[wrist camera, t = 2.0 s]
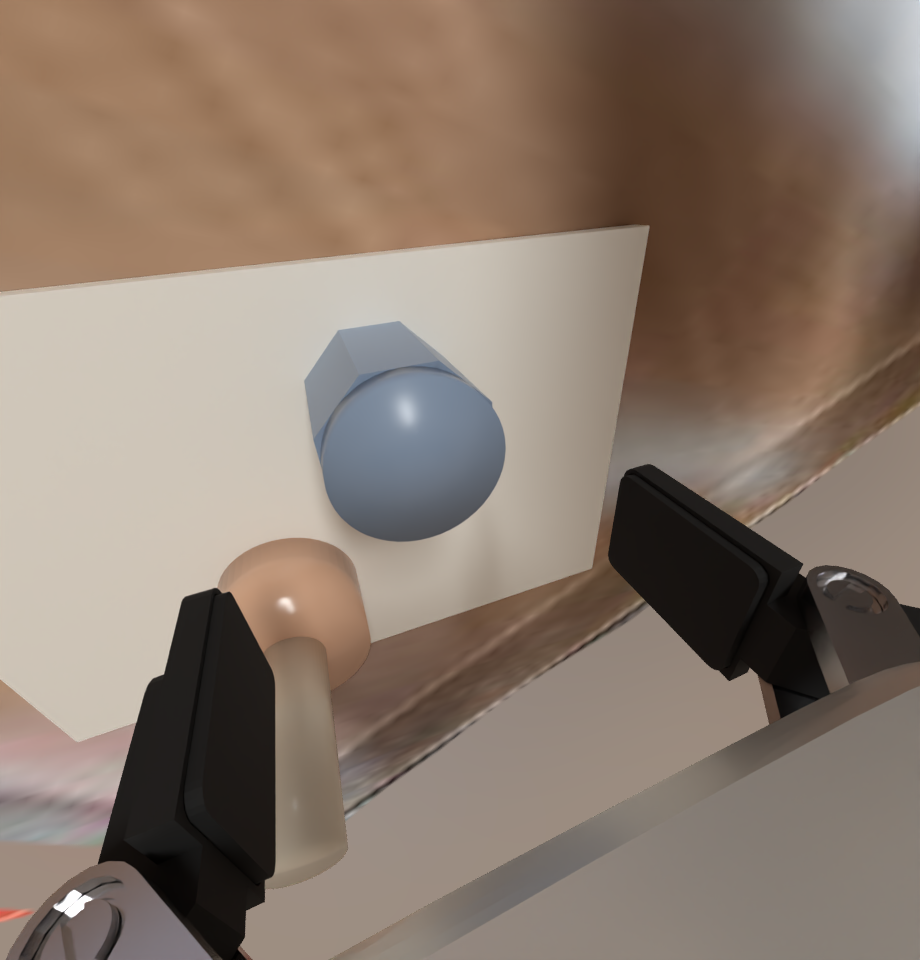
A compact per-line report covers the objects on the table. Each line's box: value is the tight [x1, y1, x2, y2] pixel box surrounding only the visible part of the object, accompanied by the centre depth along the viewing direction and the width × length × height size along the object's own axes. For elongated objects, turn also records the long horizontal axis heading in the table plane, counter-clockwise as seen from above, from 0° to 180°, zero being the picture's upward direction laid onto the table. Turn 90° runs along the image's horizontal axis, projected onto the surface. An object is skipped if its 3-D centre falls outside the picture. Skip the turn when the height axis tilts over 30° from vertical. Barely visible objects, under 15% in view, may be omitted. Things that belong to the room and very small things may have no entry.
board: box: [0, 225, 650, 742], centre depth 20 cm, size 30×20×1 cm, turn 93°
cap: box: [304, 321, 506, 542], centre depth 15 cm, size 6×6×6 cm
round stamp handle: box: [217, 538, 371, 889], centre depth 17 cm, size 6×6×11 cm
